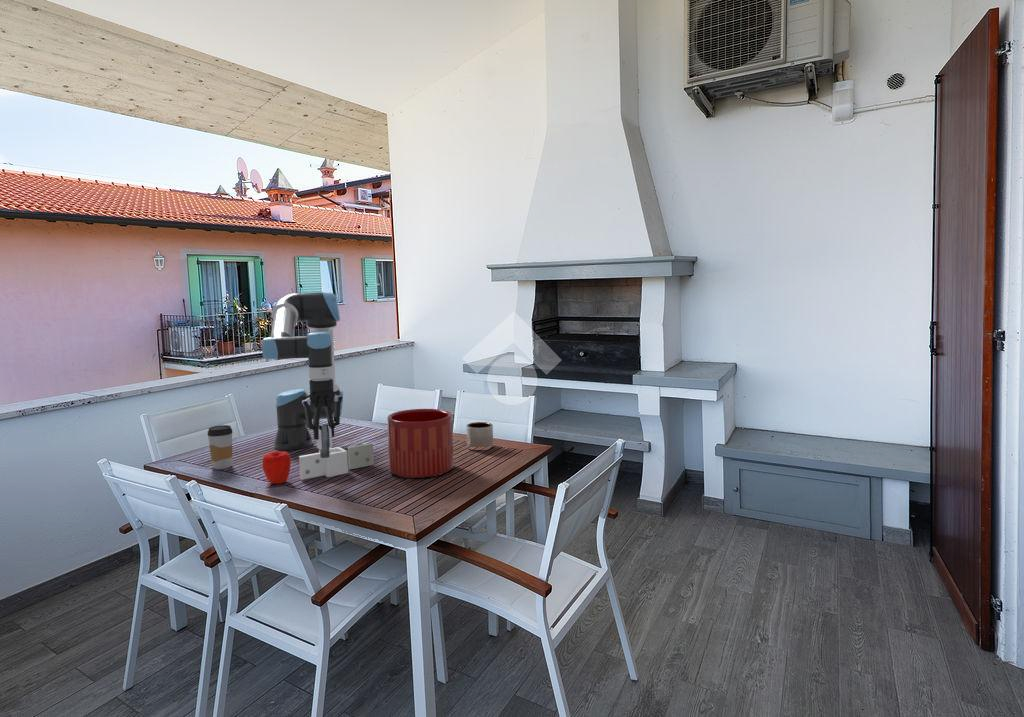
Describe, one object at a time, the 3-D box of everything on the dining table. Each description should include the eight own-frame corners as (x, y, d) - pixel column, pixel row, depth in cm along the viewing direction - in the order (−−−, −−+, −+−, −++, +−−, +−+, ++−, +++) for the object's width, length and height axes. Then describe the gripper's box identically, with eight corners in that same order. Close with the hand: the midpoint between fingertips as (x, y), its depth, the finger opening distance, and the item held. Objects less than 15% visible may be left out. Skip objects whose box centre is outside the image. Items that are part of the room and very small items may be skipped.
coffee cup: (240, 464, 216) (237, 425, 214) (222, 471, 208) (219, 430, 207) (222, 462, 219) (219, 424, 217) (204, 469, 211) (201, 429, 209)
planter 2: (495, 450, 233) (495, 427, 232) (469, 452, 230) (468, 428, 229) (490, 443, 243) (489, 421, 242) (464, 445, 240) (464, 422, 239)
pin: (319, 456, 195) (317, 424, 193) (327, 454, 197) (326, 423, 195) (322, 458, 192) (320, 426, 191) (330, 456, 194) (329, 425, 193)
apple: (263, 488, 189) (261, 456, 188) (263, 481, 197) (261, 450, 196) (292, 485, 193) (290, 453, 192) (291, 477, 201) (289, 447, 200)
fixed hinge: (297, 476, 202) (296, 454, 201) (340, 468, 211) (339, 446, 210) (304, 482, 196) (303, 459, 195) (348, 473, 205) (347, 451, 204)
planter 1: (399, 484, 193) (397, 425, 190) (381, 466, 213) (379, 412, 211) (463, 473, 203) (462, 417, 201) (440, 457, 223) (439, 406, 221)
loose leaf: (348, 468, 210) (347, 446, 209) (372, 463, 215) (371, 442, 214) (350, 469, 208) (349, 447, 207) (374, 465, 213) (373, 443, 212)
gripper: (300, 383, 183) (304, 454, 186) (348, 377, 193) (351, 445, 196) (293, 379, 189) (297, 449, 192) (340, 374, 199) (343, 441, 202)
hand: (324, 447), depth 194 cm, fingers closed on pin, 3 cm apart
